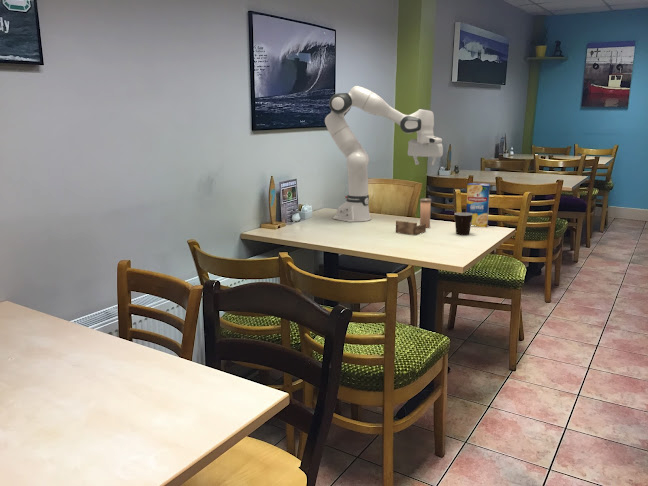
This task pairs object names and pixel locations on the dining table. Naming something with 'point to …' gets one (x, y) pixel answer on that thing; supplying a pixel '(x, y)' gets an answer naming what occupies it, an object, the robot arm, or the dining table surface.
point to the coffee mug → (463, 223)
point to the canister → (425, 211)
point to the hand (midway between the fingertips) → (424, 164)
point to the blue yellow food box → (478, 203)
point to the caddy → (409, 228)
